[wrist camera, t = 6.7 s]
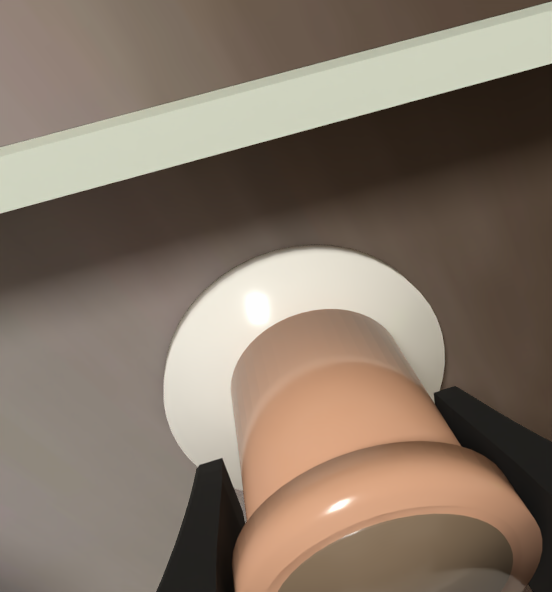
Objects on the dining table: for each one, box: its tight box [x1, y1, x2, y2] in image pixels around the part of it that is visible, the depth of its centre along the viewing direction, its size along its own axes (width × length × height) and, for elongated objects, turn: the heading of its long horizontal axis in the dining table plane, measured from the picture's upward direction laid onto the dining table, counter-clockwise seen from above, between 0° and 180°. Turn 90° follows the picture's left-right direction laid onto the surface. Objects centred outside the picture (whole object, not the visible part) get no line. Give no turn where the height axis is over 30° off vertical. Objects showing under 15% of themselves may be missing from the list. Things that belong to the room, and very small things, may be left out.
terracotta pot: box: [231, 309, 542, 592], centre depth 12 cm, size 6×6×6 cm
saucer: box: [164, 245, 445, 491], centre depth 16 cm, size 9×9×1 cm
